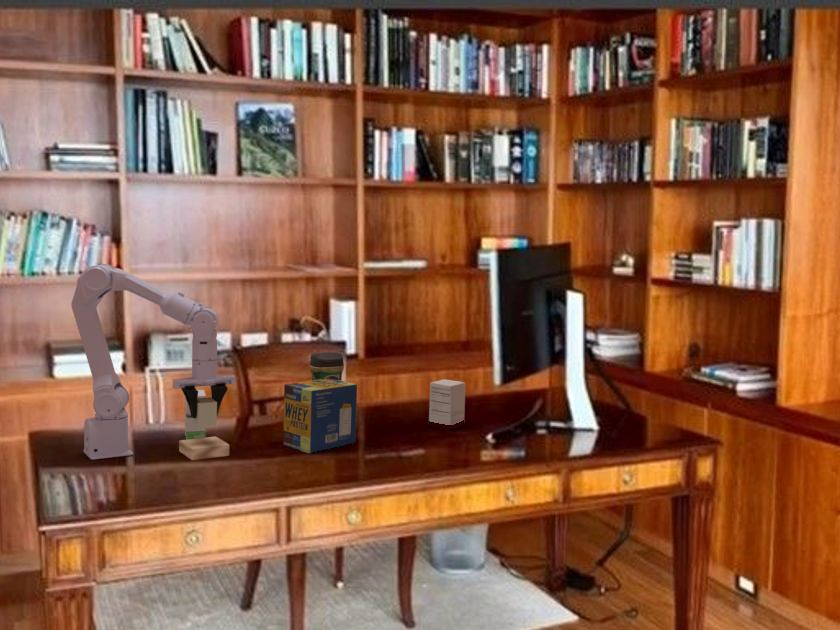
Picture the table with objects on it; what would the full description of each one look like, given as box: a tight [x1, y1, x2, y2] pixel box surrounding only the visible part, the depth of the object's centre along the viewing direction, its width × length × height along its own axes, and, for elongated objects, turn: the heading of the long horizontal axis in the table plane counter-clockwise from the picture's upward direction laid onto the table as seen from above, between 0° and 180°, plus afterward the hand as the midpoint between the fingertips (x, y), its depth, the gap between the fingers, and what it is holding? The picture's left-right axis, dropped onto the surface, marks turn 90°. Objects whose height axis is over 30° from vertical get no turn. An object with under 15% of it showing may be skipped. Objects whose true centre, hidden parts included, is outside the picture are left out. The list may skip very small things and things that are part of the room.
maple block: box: [178, 436, 230, 461], centre depth 204 cm, size 9×9×3 cm
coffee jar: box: [309, 351, 345, 381], centre depth 247 cm, size 10×8×19 cm
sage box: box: [193, 396, 218, 427], centre depth 203 cm, size 4×4×6 cm
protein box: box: [283, 378, 358, 454], centre depth 215 cm, size 10×15×16 cm
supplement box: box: [428, 378, 466, 425], centre depth 239 cm, size 7×7×13 cm
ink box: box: [184, 389, 207, 440], centre depth 218 cm, size 9×5×12 cm, turn 18°
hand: (204, 416), depth 203 cm, fingers closed on sage box, 4 cm apart
